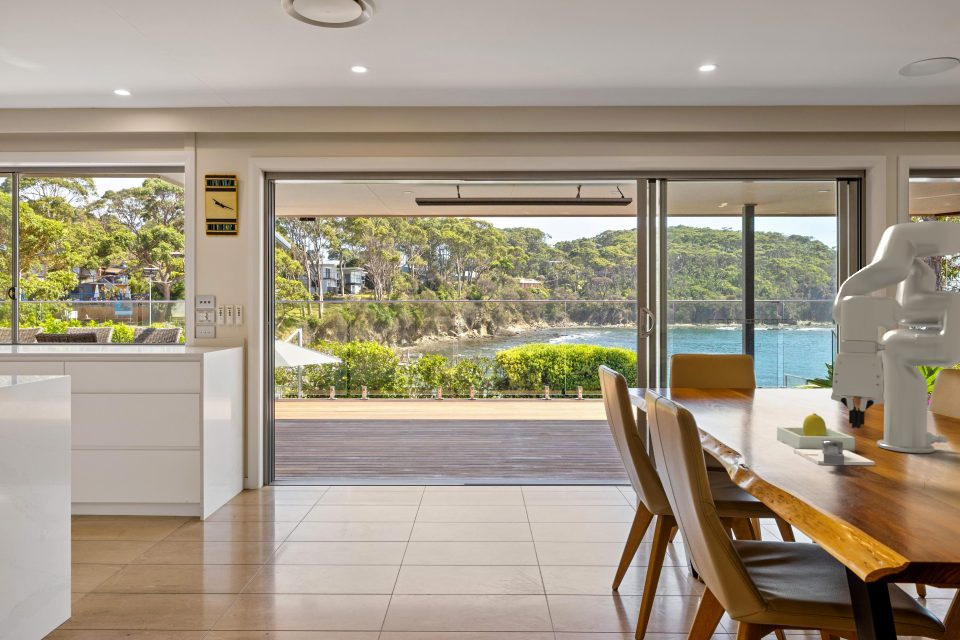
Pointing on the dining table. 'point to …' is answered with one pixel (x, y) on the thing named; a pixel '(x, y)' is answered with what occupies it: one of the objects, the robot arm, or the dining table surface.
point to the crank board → (818, 458)
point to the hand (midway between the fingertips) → (856, 427)
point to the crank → (833, 452)
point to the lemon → (814, 426)
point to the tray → (812, 438)
